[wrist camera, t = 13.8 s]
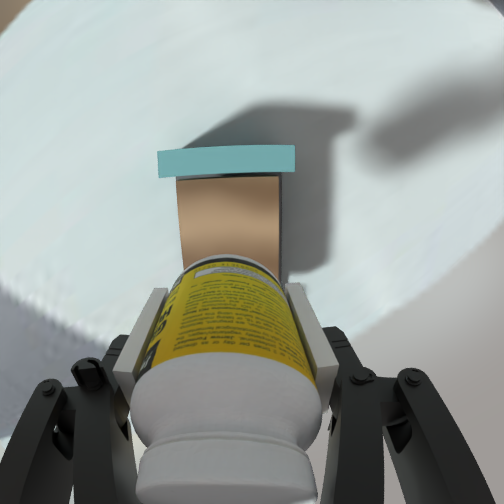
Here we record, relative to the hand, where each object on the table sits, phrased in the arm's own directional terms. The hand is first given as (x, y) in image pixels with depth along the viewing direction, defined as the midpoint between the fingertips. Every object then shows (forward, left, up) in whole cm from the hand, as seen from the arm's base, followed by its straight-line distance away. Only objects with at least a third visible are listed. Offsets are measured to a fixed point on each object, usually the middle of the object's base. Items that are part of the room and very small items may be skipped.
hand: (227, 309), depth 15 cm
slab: (0, 0, -11) cm, 11 cm away
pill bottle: (0, 0, 0) cm, 0 cm away
